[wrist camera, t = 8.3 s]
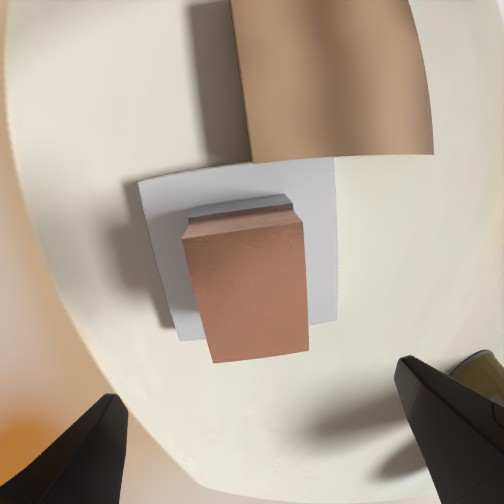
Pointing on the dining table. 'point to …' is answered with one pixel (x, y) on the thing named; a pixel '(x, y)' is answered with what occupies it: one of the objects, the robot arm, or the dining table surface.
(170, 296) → the ceramic tile
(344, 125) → the walnut plinth
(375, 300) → the dining table surface
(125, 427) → the robot arm
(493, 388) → the canister
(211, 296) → the housing
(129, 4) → the dining table surface
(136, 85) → the dining table surface
